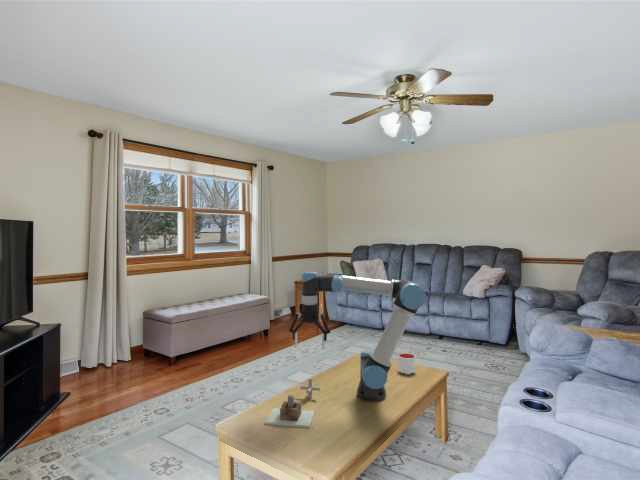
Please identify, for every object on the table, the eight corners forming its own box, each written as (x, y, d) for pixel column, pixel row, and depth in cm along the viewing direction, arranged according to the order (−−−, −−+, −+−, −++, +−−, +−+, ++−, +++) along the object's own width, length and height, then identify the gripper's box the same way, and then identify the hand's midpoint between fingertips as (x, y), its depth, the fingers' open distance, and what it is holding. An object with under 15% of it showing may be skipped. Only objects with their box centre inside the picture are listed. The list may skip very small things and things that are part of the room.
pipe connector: (317, 403, 189) (317, 383, 189) (298, 401, 191) (298, 381, 191) (321, 394, 199) (321, 375, 199) (303, 393, 201) (303, 374, 201)
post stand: (314, 413, 178) (315, 391, 178) (309, 428, 165) (309, 405, 164) (273, 409, 181) (273, 389, 181) (265, 424, 167) (265, 401, 167)
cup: (405, 368, 239) (405, 352, 239) (418, 372, 232) (418, 356, 231) (394, 371, 233) (394, 355, 233) (408, 376, 225) (408, 359, 225)
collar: (301, 412, 176) (301, 402, 176) (297, 421, 168) (297, 410, 168) (284, 411, 177) (284, 401, 177) (280, 419, 170) (280, 408, 169)
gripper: (335, 303, 188) (335, 345, 188) (286, 301, 192) (286, 343, 192) (334, 305, 181) (334, 350, 181) (283, 304, 184) (283, 347, 184)
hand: (309, 346), depth 186 cm, fingers open, 13 cm apart
